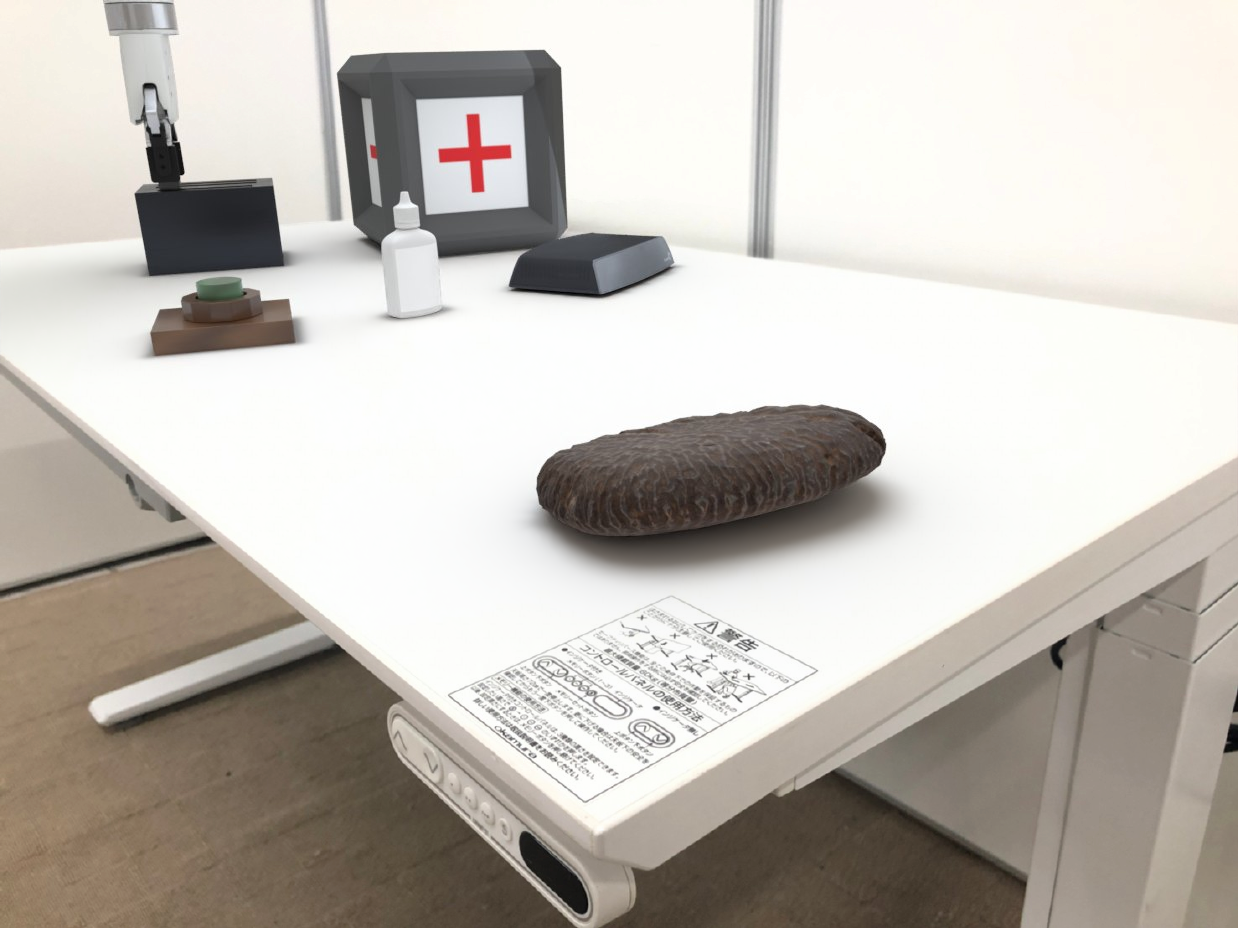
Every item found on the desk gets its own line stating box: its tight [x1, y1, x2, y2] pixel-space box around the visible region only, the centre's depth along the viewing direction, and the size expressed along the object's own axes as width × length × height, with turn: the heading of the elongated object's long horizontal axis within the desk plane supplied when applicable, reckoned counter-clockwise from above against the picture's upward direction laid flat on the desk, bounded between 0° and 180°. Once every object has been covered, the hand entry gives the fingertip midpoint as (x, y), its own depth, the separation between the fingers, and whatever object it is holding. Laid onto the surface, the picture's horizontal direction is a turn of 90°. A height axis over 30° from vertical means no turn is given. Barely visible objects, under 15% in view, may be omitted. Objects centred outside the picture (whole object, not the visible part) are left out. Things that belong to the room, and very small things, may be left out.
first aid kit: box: [336, 49, 569, 257], centre depth 145 cm, size 25×25×25 cm
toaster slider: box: [157, 145, 182, 189], centre depth 128 cm, size 2×2×5 cm
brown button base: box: [149, 287, 296, 357], centre depth 99 cm, size 12×10×4 cm
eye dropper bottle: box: [380, 192, 443, 319], centre depth 105 cm, size 4×6×12 cm
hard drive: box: [508, 232, 675, 295], centre depth 121 cm, size 13×19×4 cm
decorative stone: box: [535, 403, 887, 537], centre depth 59 cm, size 20×14×5 cm
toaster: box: [133, 177, 285, 277], centre depth 135 cm, size 16×11×10 cm
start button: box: [195, 276, 244, 301], centre depth 98 cm, size 4×4×2 cm
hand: (168, 177), depth 128 cm, fingers open, 7 cm apart
